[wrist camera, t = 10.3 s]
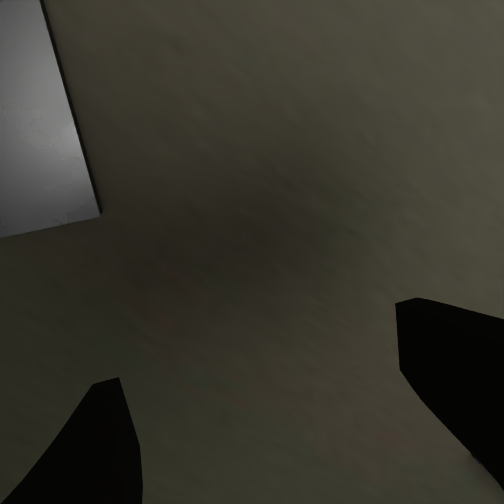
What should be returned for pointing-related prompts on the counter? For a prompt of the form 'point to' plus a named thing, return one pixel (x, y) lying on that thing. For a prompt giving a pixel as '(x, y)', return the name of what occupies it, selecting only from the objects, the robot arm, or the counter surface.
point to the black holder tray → (38, 129)
